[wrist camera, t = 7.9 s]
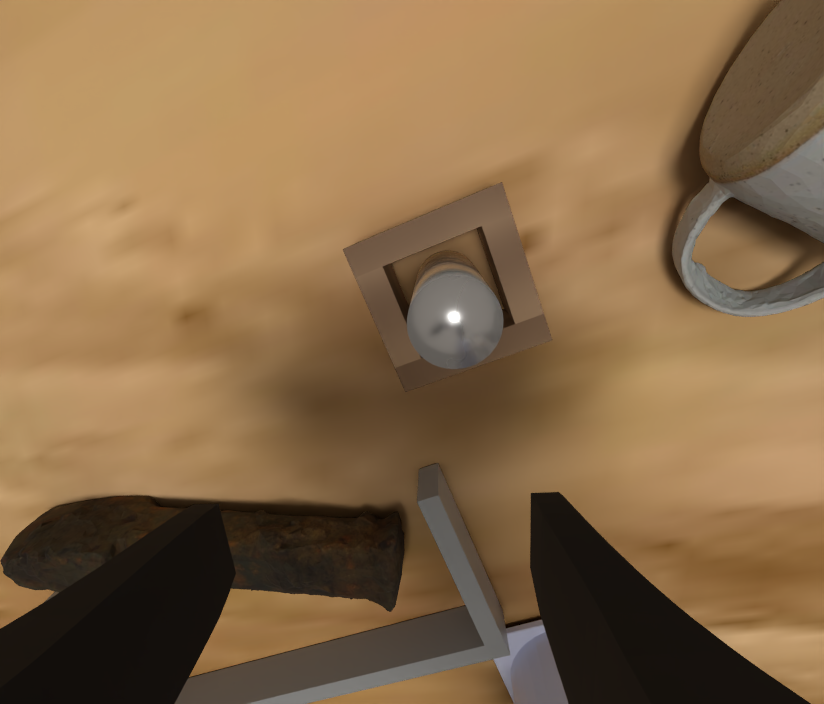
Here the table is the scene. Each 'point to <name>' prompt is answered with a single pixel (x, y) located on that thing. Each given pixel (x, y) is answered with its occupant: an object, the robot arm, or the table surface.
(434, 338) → the rod
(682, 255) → the ceramic mug
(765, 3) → the table surface
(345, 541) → the hand tool
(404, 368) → the hollow square frame
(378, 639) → the u-shaped frame
